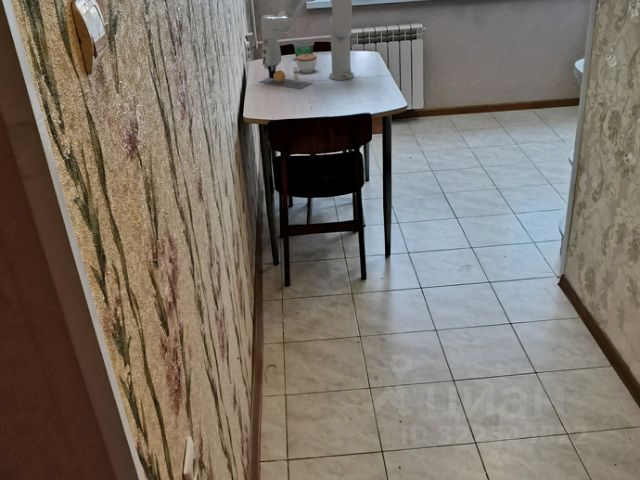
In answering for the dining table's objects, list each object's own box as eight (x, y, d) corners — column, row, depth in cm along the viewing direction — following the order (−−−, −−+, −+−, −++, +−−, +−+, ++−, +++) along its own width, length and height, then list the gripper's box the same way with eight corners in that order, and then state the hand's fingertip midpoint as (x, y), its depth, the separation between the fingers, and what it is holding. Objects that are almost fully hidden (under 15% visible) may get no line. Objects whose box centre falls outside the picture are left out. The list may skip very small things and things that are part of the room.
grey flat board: (259, 82, 337) (258, 81, 337) (270, 76, 345) (270, 76, 344) (300, 89, 325) (300, 88, 324) (312, 83, 332) (312, 83, 331)
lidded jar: (314, 74, 345) (314, 56, 341) (294, 73, 347) (293, 56, 343) (319, 68, 354) (318, 50, 350) (299, 68, 356) (298, 50, 352)
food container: (290, 60, 370) (289, 42, 365) (294, 57, 375) (293, 39, 370) (311, 61, 366) (310, 43, 361) (315, 58, 371) (314, 40, 366)
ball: (281, 84, 338) (288, 81, 334) (272, 83, 334) (279, 80, 330) (279, 72, 338) (286, 69, 334) (270, 72, 334) (277, 68, 330)
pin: (299, 84, 331) (298, 68, 326) (295, 85, 330) (294, 68, 325) (297, 83, 332) (296, 67, 328) (293, 84, 331) (292, 67, 327)
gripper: (266, 45, 321) (269, 82, 330) (285, 39, 331) (287, 75, 341) (254, 43, 325) (257, 80, 334) (273, 37, 335) (275, 73, 344)
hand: (272, 77), depth 337 cm, fingers closed
